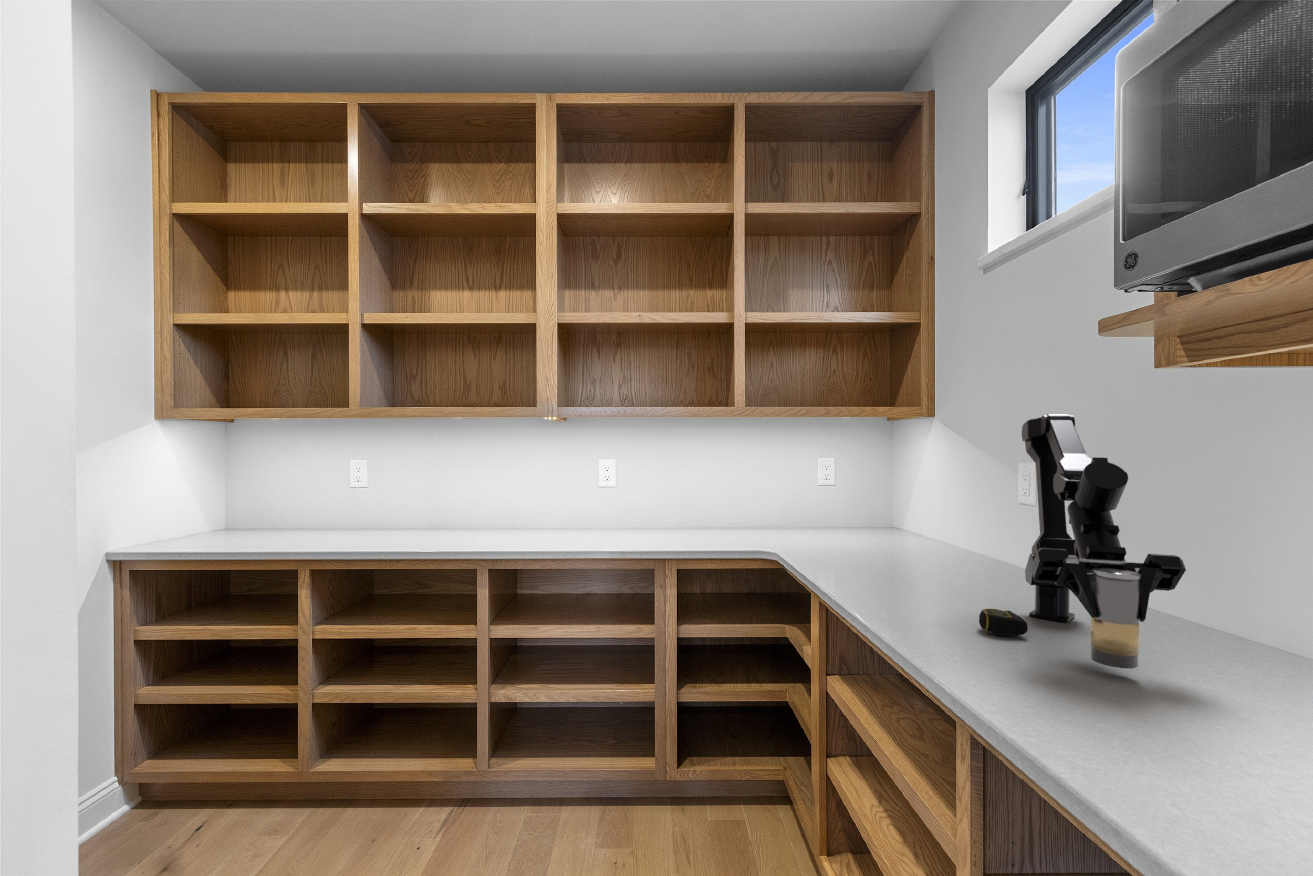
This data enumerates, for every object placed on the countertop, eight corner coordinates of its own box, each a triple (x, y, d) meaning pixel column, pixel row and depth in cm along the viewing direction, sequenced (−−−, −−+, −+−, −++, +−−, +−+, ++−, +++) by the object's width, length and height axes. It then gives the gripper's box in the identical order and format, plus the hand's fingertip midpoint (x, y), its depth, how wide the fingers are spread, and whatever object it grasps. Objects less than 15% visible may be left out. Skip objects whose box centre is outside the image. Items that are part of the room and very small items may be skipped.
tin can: (1094, 652, 100) (1096, 566, 100) (1142, 661, 96) (1143, 572, 96) (1086, 661, 96) (1087, 571, 96) (1134, 671, 92) (1136, 578, 92)
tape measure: (1029, 640, 113) (1029, 618, 113) (986, 638, 114) (987, 616, 114) (1013, 629, 120) (1013, 608, 120) (973, 627, 121) (973, 606, 121)
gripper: (1147, 563, 108) (1177, 652, 97) (1019, 556, 113) (1034, 639, 103) (1170, 521, 100) (1204, 613, 89) (1031, 515, 105) (1049, 601, 95)
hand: (1118, 618), depth 94 cm, fingers closed on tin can, 6 cm apart
